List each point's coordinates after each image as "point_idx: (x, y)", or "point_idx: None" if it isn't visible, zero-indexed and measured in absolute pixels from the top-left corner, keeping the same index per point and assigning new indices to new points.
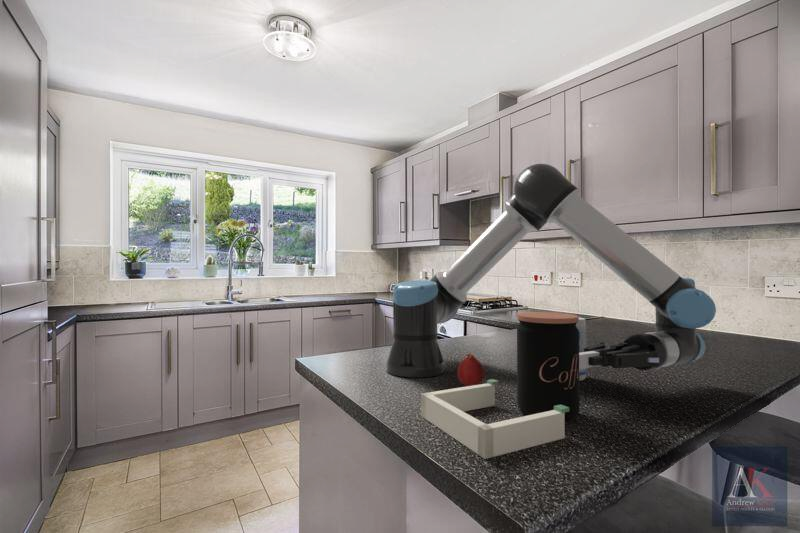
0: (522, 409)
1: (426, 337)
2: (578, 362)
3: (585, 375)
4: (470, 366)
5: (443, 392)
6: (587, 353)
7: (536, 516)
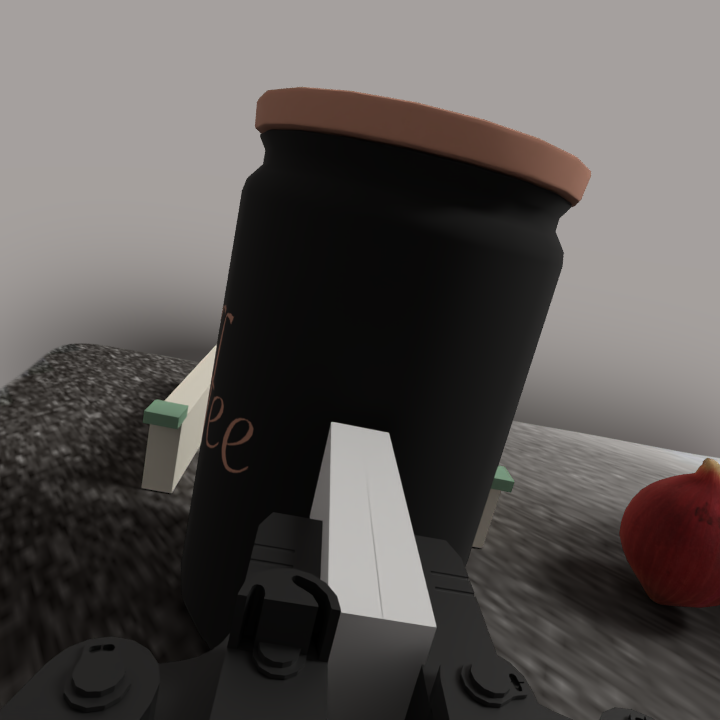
0: None
1: None
2: (224, 366)
3: None
4: (649, 485)
5: None
6: (344, 494)
7: (67, 347)
